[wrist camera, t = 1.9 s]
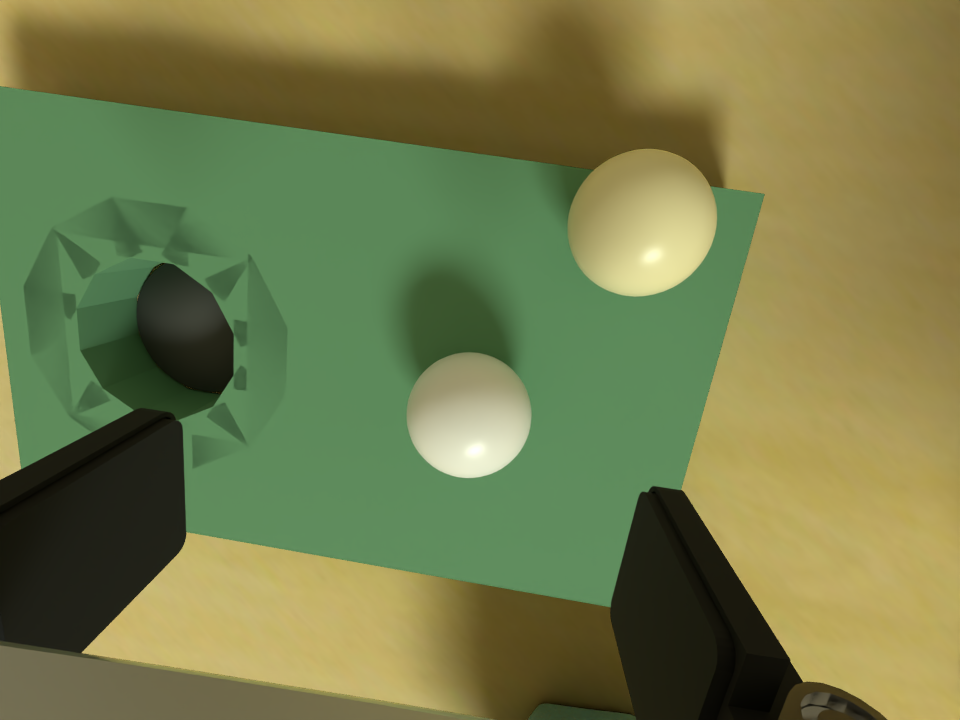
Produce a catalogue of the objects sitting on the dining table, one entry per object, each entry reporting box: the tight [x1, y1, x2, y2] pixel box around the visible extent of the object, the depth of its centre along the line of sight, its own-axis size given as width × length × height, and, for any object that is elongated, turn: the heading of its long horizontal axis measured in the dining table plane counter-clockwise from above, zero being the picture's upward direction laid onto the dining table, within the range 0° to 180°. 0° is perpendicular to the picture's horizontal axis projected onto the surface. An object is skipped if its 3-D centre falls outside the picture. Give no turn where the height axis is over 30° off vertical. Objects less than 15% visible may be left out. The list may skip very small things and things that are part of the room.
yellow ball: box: [568, 149, 717, 297], centre depth 14 cm, size 4×4×4 cm
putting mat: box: [0, 86, 765, 607], centre depth 20 cm, size 26×16×3 cm, turn 82°
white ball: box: [407, 352, 532, 478], centre depth 16 cm, size 4×4×4 cm
